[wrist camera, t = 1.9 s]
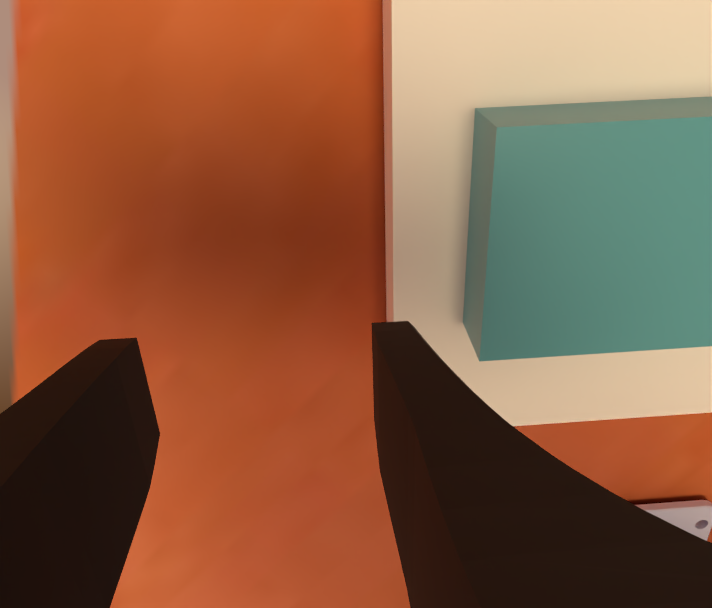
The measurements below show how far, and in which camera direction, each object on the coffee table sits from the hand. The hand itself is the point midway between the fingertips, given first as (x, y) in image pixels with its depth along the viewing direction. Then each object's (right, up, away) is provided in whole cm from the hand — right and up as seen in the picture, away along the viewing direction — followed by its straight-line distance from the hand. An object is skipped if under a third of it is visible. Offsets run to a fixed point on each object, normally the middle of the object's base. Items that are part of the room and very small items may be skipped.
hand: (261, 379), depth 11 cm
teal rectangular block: (+10, +4, +6) cm, 12 cm away
